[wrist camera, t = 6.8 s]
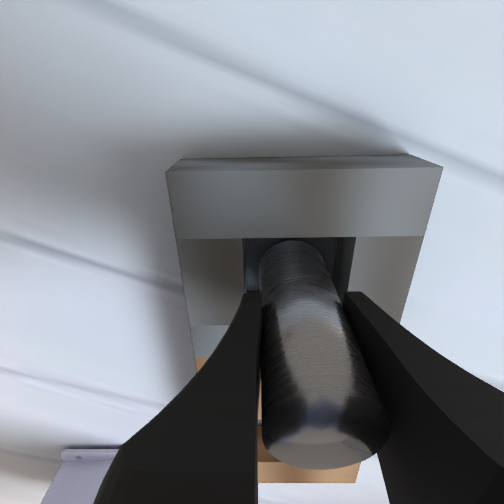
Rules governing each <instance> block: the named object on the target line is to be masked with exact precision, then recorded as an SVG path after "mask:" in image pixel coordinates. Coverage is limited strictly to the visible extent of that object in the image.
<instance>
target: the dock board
mask: <svg viewBox="0 0 504 504" xmlns="http://www.w3.org/2000/svg"><path fill="white" fill-rule="evenodd" d="M442 170H443V167H442V166H439V165H437V164H434V163H431V162H429V161H426V160H423V159H421V158H418V157H416V156H413V155H370V156H319V157H268V158H217V159H180V160H179V161H178V162H177V163H176V164H175V165H173V166H172V167H171V168H170V169H169V170H168V171H166V172H165V173H166V180H167V186H168V192H169V199H170V205H171V211H172V218H173V224H174V230H175V237H176V243H177V249H178V256H179V262H180V268H181V275H182V281H183V287H184V294H185V300H186V306H187V313H188V319H189V325H190V332H191V338H192V344H193V351H194V357H195V363H196V370H197V372H198V371H199V370H200V369H201V367H202V366H203V365H204V364H205V362H206V361H207V360H208V358H209V357H210V356H211V354H212V353H213V351H214V350H215V348H216V347H217V345H218V344H219V342H220V341H221V339H222V337H223V336H224V334H225V333H226V331H227V329H228V327H229V325H230V324H231V322H232V320H233V318H234V316H235V314H236V312H237V310H238V307H239V305H240V302H241V299H242V296H243V294H244V293H247V279H246V250H245V238H301V237H338V238H337V246H336V254H335V262H334V270H333V277H332V282H333V285H334V287H335V289H336V292H337V294H338V297H339V299H340V302H341V304H342V306H343V299H344V293H345V291H361V292H363V293H364V294H365V295H366V296H367V297H369V298H370V299H371V300H372V301H373V302H374V303H375V304H377V305H378V306H379V307H380V308H381V309H382V310H384V311H385V312H386V313H387V314H388V315H389V316H391V317H392V318H393V319H394V320H395V321H397V322H398V323H399V324H400V320H401V317H402V313H403V310H404V306H405V303H406V299H407V295H408V292H409V288H410V285H411V281H412V278H413V274H414V270H415V267H416V263H417V260H418V256H419V253H420V249H421V245H422V242H423V238H424V235H425V231H426V228H427V224H428V220H429V217H430V213H431V210H432V206H433V203H434V199H435V195H436V192H437V188H438V185H439V181H440V178H441V174H442ZM258 420H262V417H261V382H260V395H259V408H258ZM257 434H258V483H355V481H356V478H357V474H358V471H359V467H360V463H361V462H359V463H356V464H353V465H350V466H347V467H342V468H337V469H328V470H312V469H304V468H298V467H295V466H291V465H288V464H286V463H284V462H281V461H280V460H278V459H276V458H275V457H274V456H272V455H271V454H270V453H269V452H268V451H267V449H266V448H265V446H264V444H263V441H262V425H258V428H257Z"/></svg>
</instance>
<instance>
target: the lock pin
mask: <svg viewBox="0 0 504 504" xmlns="http://www.w3.org/2000/svg"><path fill="white" fill-rule="evenodd" d="M259 292H262V334H261V352H260V361H261V417H262V441H263V444H264V446H265V448H266V449H267V451H268V452H269V453H270V454H271V455H272V456H274V457H275V458H276V459H278V460H280V461H281V462H284V463H286V464H288V465H291V466H295V467H298V468H304V469H312V470H328V469H337V468H342V467H347V466H350V465H353V464H356V463H359V462H361V461H364V460H366V459H368V458H369V457H371V456H373V455H374V454H375V453H377V452H378V451H379V450H380V449H381V448H382V447H383V446H384V445H385V443H386V442H387V440H388V438H389V436H390V432H391V424H390V421H389V418H388V416H387V413H386V411H385V408H384V406H383V403H382V401H381V399H380V396H379V394H378V391H377V389H376V386H375V384H374V382H373V379H372V377H371V374H370V372H369V369H368V367H367V365H366V362H365V360H364V357H363V355H362V352H361V350H360V348H359V345H358V343H357V340H356V338H355V335H354V333H353V331H352V328H351V326H350V323H349V321H348V319H347V316H346V314H345V311H344V309H343V306H342V304H341V302H340V299H339V297H338V294H337V292H336V289H335V287H334V285H333V282H332V280H331V277H330V275H329V272H328V270H327V268H326V265H325V263H324V260H323V258H322V256H321V254H320V253H319V251H318V250H317V249H316V248H315V247H313V246H312V245H310V244H308V243H306V242H302V241H297V240H290V241H284V242H281V243H278V244H276V245H274V246H273V247H271V248H270V249H269V250H268V251H267V252H266V253H265V254H264V255H263V257H262V259H261V261H260V265H259Z"/></svg>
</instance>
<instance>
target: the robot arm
mask: <svg viewBox="0 0 504 504" xmlns="http://www.w3.org/2000/svg"><path fill="white" fill-rule="evenodd" d="M343 309H344V311H345V314H346V316H347V319H348V321H349V323H350V326H351V328H352V331H353V333H354V335H355V338H356V340H357V343H358V345H359V348H360V350H361V352H362V355H363V357H364V360H365V362H366V365H367V367H368V369H369V372H370V374H371V377H372V379H373V382H374V384H375V386H376V389H377V391H378V394H379V396H380V399H381V401H382V403H383V406H384V408H385V411H386V413H387V416H388V418H389V421H390V424H391V432H390V436H389V438H388V440H387V442H386V443H385V445H384V446H383V447H382V448H381V449H380V450H379V451H378V452H377V455H378V458H379V462H380V466H381V470H382V474H383V478H384V482H385V486H386V490H387V494H388V498H389V502H390V504H504V392H502V391H500V390H498V389H497V388H495V387H493V386H491V385H490V384H488V383H486V382H484V381H483V380H481V379H479V378H477V377H475V376H474V375H472V374H470V373H469V372H467V371H465V370H464V369H462V368H461V367H459V366H457V365H456V364H454V363H453V362H451V361H450V360H448V359H447V358H445V357H444V356H442V355H440V354H439V353H438V352H436V351H435V350H433V349H432V348H430V347H429V346H428V345H426V344H425V343H424V342H422V341H421V340H420V339H418V338H417V337H416V336H414V335H413V334H412V333H410V332H409V331H408V330H406V329H405V328H404V327H403V326H401V325H400V324H399V323H398V322H397V321H395V320H394V319H393V318H392V317H391V316H389V315H388V314H387V313H386V312H385V311H384V310H382V309H381V308H380V307H379V306H378V305H377V304H375V303H374V302H373V301H372V300H371V299H370V298H369V297H367V296H366V295H365V294H364V293H363V292H361V291H345V293H344V299H343ZM261 334H262V292H250V293H244V294H243V296H242V299H241V302H240V305H239V307H238V310H237V312H236V314H235V316H234V318H233V320H232V322H231V324H230V325H229V327H228V329H227V331H226V333H225V334H224V336H223V337H222V339H221V341H220V342H219V344H218V345H217V347H216V348H215V350H214V351H213V353H212V354H211V356H210V357H209V358H208V360H207V361H206V362H205V364H204V365H203V366H202V367H201V369H200V370H199V371H198V372H197V373H196V375H195V376H194V377H193V378H192V379H191V381H190V382H189V383H188V384H187V385H186V386H185V387H184V388H183V390H182V391H181V392H180V393H179V394H178V395H177V396H176V397H175V398H174V399H173V400H172V401H171V402H170V403H169V404H168V405H167V406H166V407H165V408H164V409H163V410H162V411H161V412H160V413H159V414H158V415H156V416H155V417H154V418H153V419H152V420H151V421H150V422H149V423H147V424H146V425H145V426H144V427H143V428H142V429H140V430H139V431H138V432H137V433H136V434H135V435H133V436H132V437H131V438H130V439H129V440H128V441H126V442H125V443H124V444H123V445H122V446H121V447H120V448H119V449H65V450H63V451H62V453H61V455H60V457H61V459H62V461H63V462H62V464H61V466H60V468H59V470H58V471H57V473H56V475H55V477H54V479H53V481H52V483H51V485H50V487H49V489H48V490H47V492H46V494H45V496H44V498H43V500H42V502H41V504H258V434H257V428H258V408H259V395H260V382H261V361H260V352H261Z"/></svg>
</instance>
